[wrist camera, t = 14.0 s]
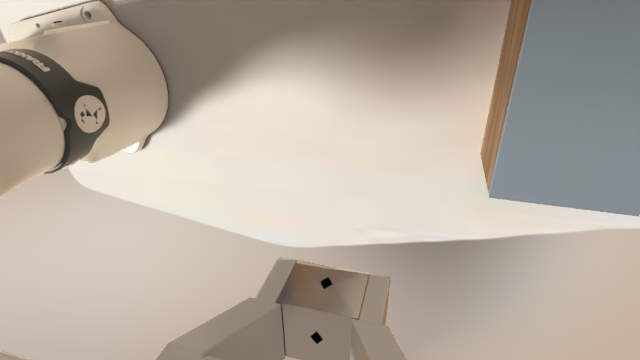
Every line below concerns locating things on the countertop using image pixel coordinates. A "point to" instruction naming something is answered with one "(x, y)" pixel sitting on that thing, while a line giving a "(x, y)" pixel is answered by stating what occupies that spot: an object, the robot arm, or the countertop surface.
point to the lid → (574, 109)
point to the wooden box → (504, 83)
